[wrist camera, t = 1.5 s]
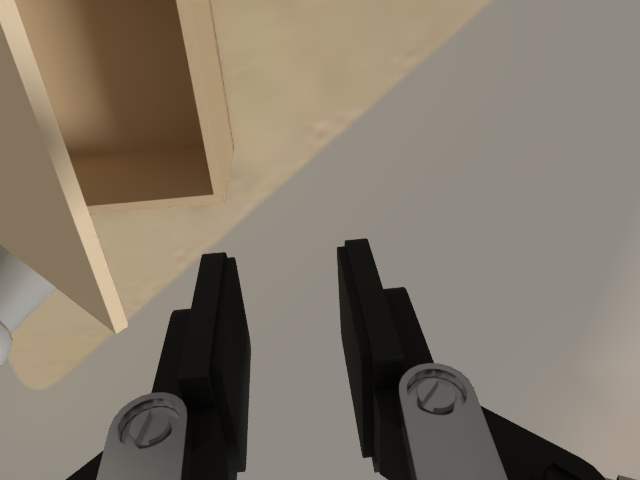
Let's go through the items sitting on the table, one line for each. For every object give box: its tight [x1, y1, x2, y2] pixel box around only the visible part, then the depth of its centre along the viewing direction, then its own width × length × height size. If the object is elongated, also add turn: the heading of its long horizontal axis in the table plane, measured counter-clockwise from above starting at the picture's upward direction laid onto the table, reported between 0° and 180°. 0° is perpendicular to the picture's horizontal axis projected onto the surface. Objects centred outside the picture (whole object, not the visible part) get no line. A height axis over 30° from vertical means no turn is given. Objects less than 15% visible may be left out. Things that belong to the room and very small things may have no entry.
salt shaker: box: [0, 245, 56, 365], centre depth 36 cm, size 6×6×13 cm
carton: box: [15, 0, 234, 215], centre depth 31 cm, size 14×13×9 cm
